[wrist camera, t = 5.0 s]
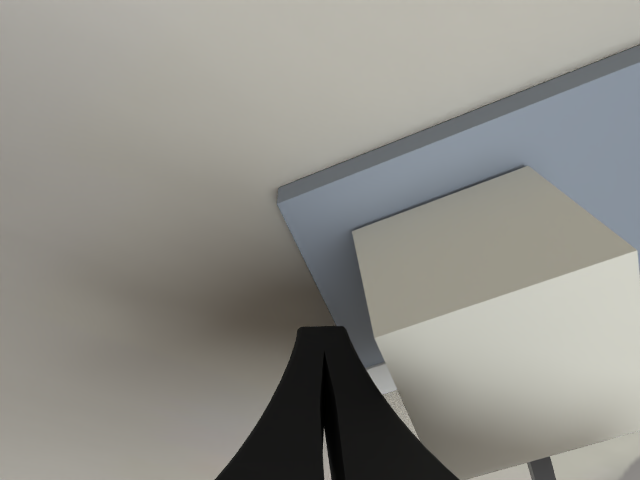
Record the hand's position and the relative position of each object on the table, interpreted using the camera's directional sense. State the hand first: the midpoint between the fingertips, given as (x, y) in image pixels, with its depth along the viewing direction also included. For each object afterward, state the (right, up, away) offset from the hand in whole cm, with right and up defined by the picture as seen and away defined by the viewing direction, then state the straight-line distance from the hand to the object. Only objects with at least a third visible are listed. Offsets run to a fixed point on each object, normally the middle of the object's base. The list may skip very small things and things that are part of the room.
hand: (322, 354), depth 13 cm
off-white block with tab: (+5, +1, +1) cm, 5 cm away
